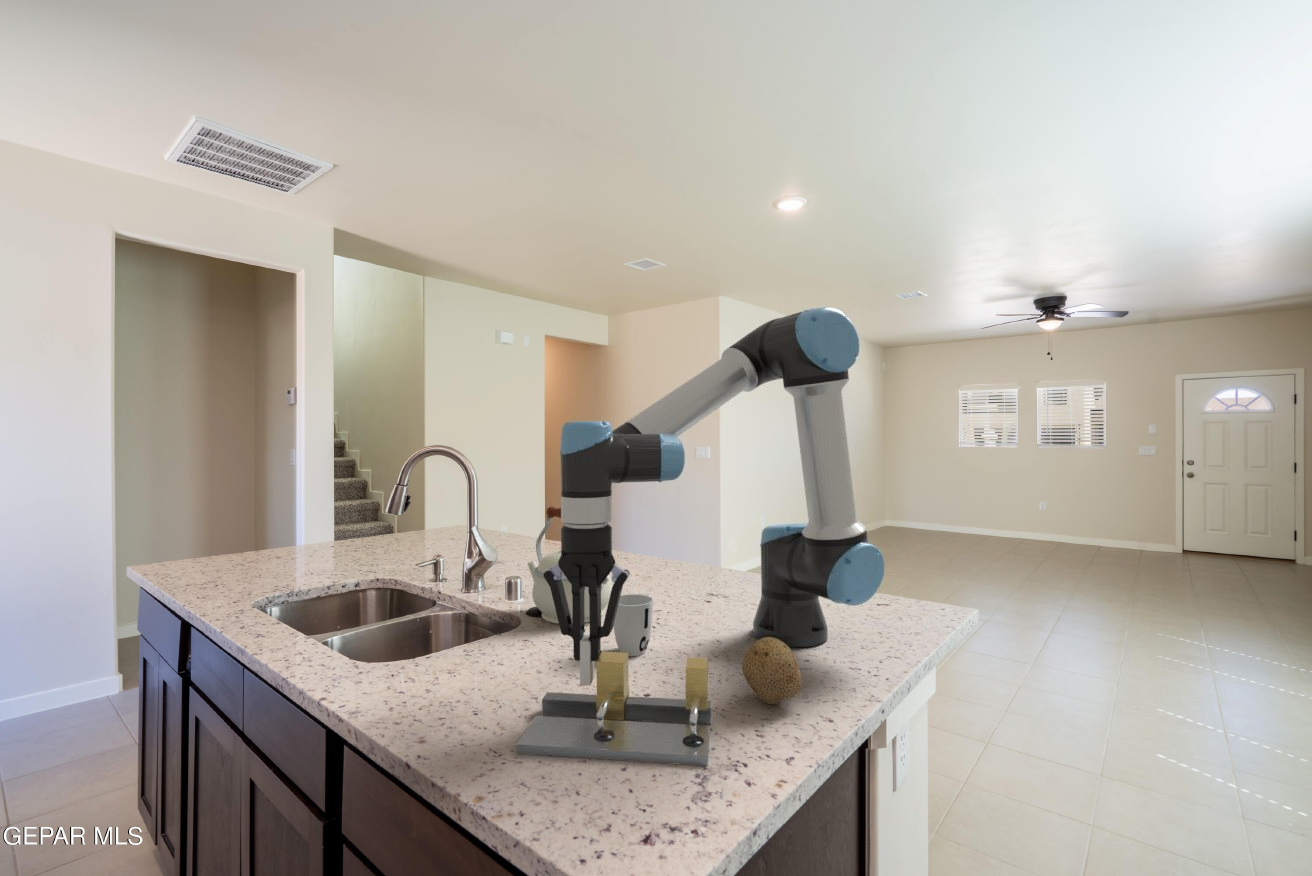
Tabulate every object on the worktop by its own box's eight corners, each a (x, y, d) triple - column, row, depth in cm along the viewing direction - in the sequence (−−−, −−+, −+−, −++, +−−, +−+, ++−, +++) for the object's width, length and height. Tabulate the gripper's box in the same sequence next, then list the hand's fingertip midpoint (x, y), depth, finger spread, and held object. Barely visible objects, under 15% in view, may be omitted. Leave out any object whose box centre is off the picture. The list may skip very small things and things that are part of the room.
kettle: (634, 612, 141) (633, 506, 141) (584, 634, 126) (583, 515, 125) (553, 597, 154) (553, 501, 154) (500, 615, 139) (499, 508, 139)
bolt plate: (709, 734, 84) (709, 725, 84) (707, 765, 76) (707, 755, 76) (536, 724, 87) (536, 715, 87) (516, 753, 79) (516, 743, 79)
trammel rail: (711, 714, 89) (711, 658, 89) (708, 753, 79) (708, 689, 79) (548, 705, 93) (548, 651, 93) (524, 741, 82) (523, 680, 82)
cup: (648, 660, 111) (648, 606, 111) (606, 657, 113) (606, 604, 113) (657, 645, 119) (657, 595, 119) (617, 642, 121) (617, 593, 121)
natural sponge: (738, 688, 98) (738, 628, 98) (793, 689, 98) (793, 628, 98) (745, 714, 89) (744, 647, 89) (805, 715, 89) (805, 648, 89)
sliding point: (628, 705, 91) (628, 652, 91) (614, 743, 80) (614, 682, 80) (603, 704, 92) (602, 650, 92) (585, 741, 81) (584, 680, 81)
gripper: (633, 521, 93) (634, 673, 93) (551, 520, 94) (552, 669, 94) (624, 528, 85) (625, 694, 85) (536, 527, 87) (537, 689, 87)
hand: (587, 681), depth 90 cm, fingers closed
